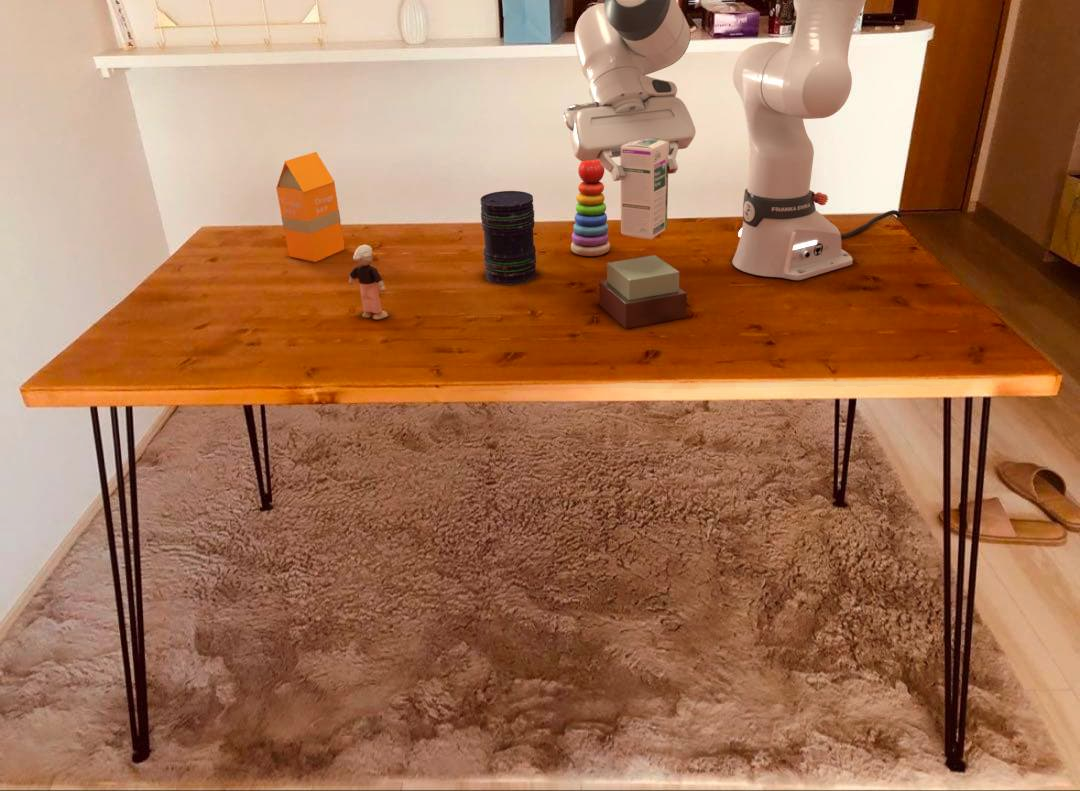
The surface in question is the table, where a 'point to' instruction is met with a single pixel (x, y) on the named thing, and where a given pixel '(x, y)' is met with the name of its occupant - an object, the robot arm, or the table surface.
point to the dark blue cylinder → (508, 237)
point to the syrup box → (644, 187)
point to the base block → (642, 307)
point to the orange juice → (309, 209)
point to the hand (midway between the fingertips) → (646, 175)
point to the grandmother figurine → (368, 283)
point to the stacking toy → (590, 212)
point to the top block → (642, 277)
